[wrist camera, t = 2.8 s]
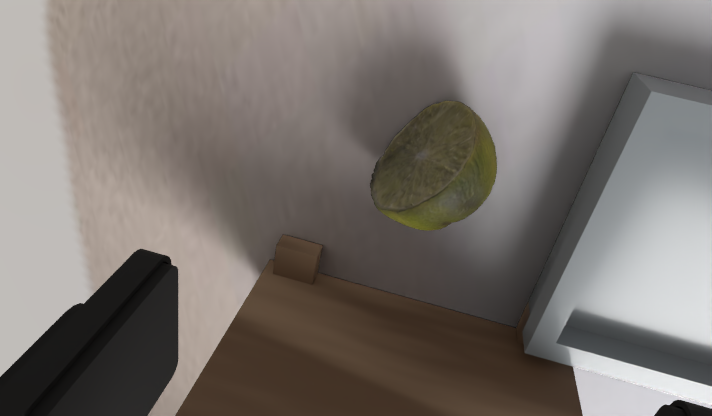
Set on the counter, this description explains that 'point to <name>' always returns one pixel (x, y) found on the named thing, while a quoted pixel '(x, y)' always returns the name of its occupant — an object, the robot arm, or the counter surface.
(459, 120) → the lime
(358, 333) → the walnut board
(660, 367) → the slate dish
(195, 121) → the counter surface
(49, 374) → the robot arm
